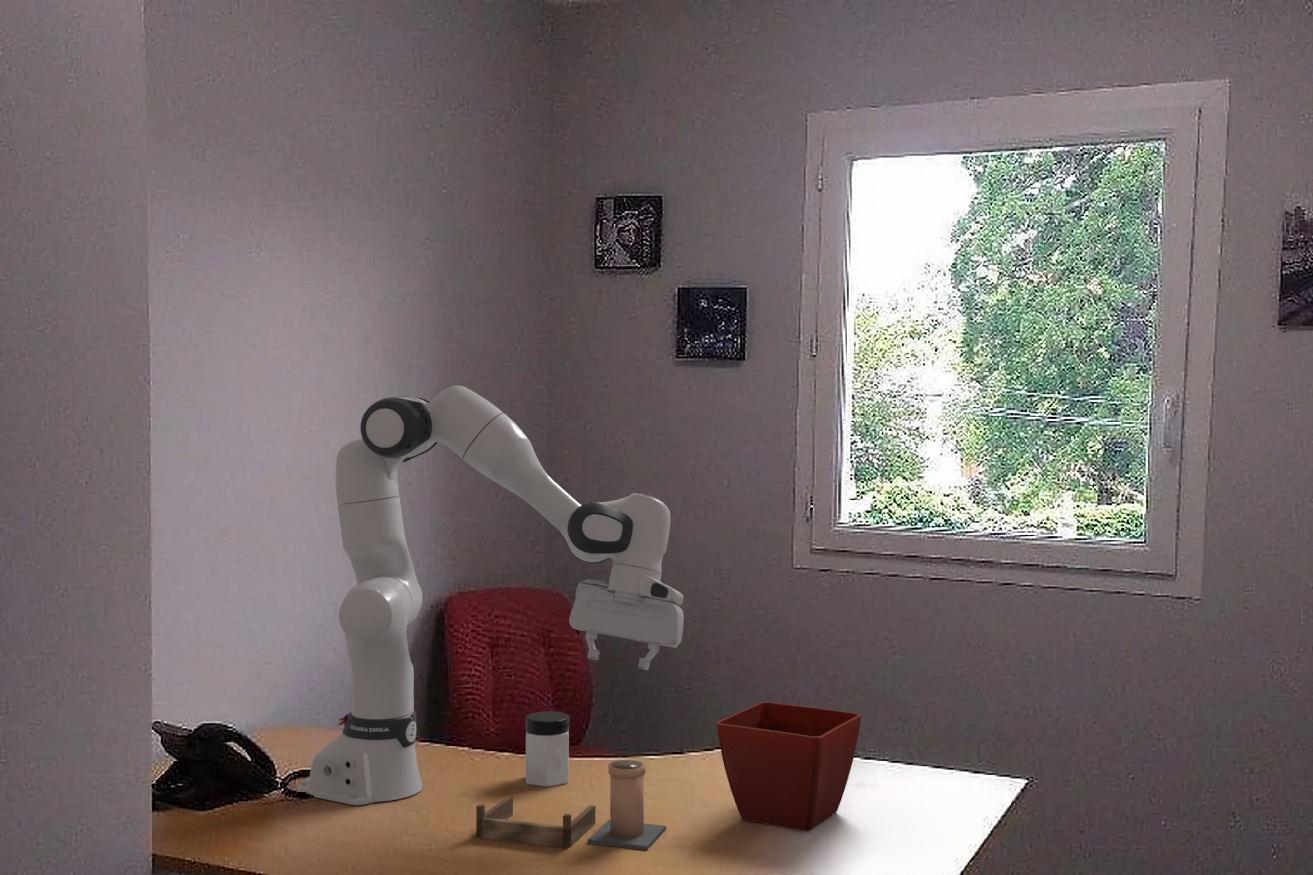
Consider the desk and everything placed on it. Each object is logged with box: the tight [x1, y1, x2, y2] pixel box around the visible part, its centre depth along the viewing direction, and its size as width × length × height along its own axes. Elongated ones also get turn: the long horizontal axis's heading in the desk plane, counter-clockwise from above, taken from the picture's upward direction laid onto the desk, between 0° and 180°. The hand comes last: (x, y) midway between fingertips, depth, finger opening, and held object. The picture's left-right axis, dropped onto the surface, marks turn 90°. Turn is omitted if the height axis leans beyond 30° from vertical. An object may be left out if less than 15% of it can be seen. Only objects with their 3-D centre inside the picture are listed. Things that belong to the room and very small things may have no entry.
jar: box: [525, 710, 571, 788], centre depth 223 cm, size 9×8×12 cm
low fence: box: [475, 796, 596, 849], centre depth 196 cm, size 16×12×5 cm
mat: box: [586, 819, 667, 851], centre depth 193 cm, size 10×10×1 cm
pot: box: [608, 759, 647, 838], centre depth 193 cm, size 6×6×11 cm
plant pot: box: [716, 701, 862, 832], centre depth 204 cm, size 19×19×17 cm
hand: (617, 664), depth 208 cm, fingers open, 8 cm apart
